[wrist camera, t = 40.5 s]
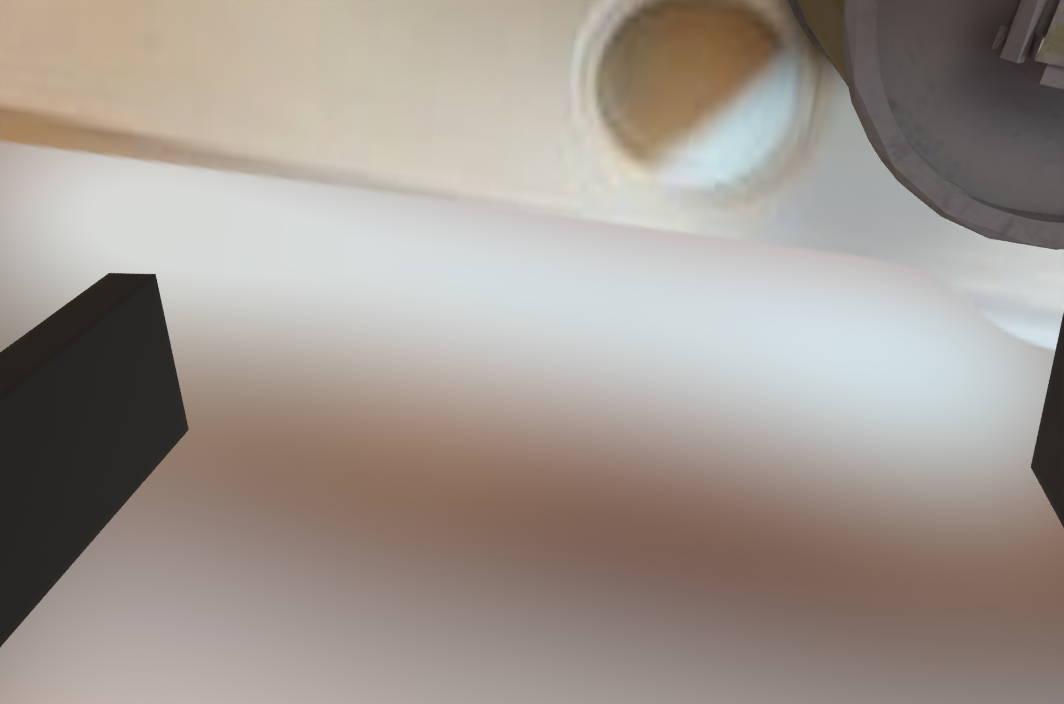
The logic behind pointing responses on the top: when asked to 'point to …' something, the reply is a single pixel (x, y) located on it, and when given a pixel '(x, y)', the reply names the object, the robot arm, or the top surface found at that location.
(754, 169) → the top surface
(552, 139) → the top surface
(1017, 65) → the canister
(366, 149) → the top surface
